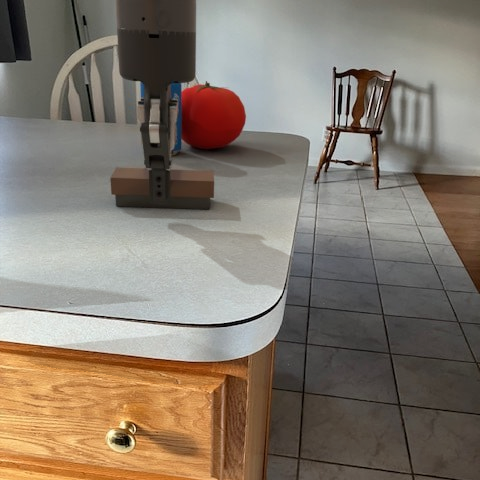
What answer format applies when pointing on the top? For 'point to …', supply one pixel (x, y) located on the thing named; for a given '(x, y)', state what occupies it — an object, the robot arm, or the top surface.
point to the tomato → (210, 116)
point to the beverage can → (177, 95)
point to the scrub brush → (181, 183)
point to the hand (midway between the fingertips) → (160, 202)
